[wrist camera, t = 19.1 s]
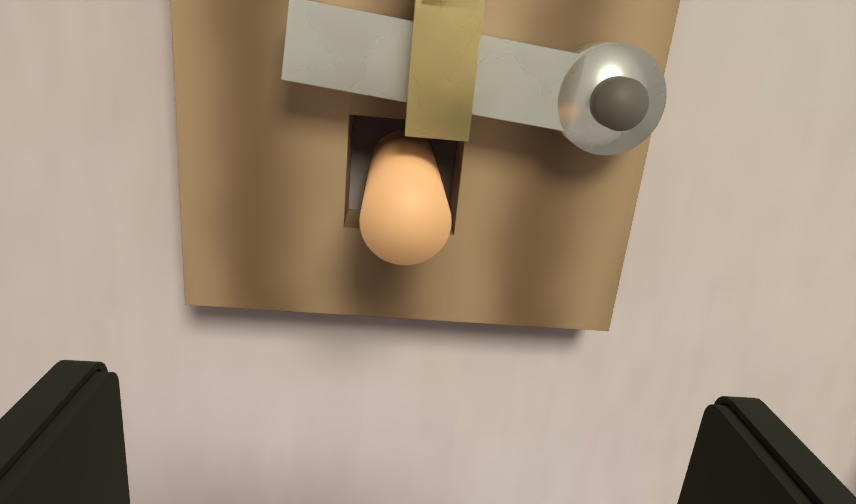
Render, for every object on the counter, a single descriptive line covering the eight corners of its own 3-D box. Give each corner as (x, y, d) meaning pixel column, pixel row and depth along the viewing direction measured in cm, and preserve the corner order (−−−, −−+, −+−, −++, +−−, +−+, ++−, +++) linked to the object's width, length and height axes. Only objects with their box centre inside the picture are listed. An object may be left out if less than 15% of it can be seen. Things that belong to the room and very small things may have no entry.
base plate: (658, -30, 28) (736, -46, 22) (590, 305, 34) (636, 371, 27) (190, -81, 27) (124, -115, 20) (203, 280, 32) (154, 344, 26)
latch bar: (656, 52, 26) (680, 54, 24) (627, 152, 28) (647, 163, 26) (301, -20, 25) (291, -24, 22) (289, 91, 26) (279, 97, 24)
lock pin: (437, 133, 30) (456, 181, 21) (431, 195, 31) (446, 268, 22) (373, 127, 30) (362, 173, 21) (369, 190, 31) (357, 262, 22)
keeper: (475, -40, 25) (490, -53, 21) (457, 123, 27) (468, 141, 23) (416, -46, 25) (420, -61, 21) (403, 119, 27) (404, 136, 23)
